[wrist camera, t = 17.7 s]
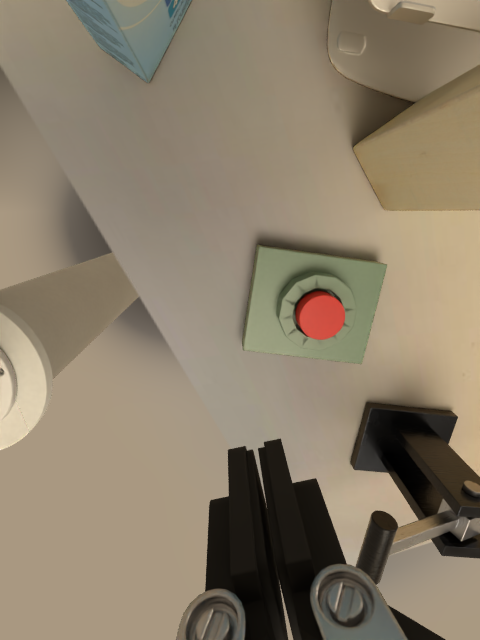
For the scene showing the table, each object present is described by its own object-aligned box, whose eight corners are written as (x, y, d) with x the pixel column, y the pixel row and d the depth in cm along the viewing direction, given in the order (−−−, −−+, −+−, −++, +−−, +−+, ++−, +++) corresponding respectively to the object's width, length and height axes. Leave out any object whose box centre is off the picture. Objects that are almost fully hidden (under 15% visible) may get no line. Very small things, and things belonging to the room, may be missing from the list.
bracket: (350, 462, 41) (403, 567, 29) (366, 401, 39) (432, 487, 27) (431, 470, 42) (516, 575, 30) (451, 411, 40) (553, 498, 27)
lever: (347, 562, 27) (370, 593, 25) (363, 510, 26) (388, 537, 23) (450, 523, 32) (476, 545, 30) (468, 478, 31) (496, 498, 29)
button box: (241, 342, 36) (244, 357, 32) (256, 244, 34) (261, 248, 30) (354, 355, 37) (369, 371, 33) (377, 261, 35) (396, 267, 31)
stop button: (291, 330, 32) (295, 337, 31) (299, 288, 31) (304, 292, 30) (333, 335, 33) (339, 342, 31) (343, 293, 32) (350, 298, 30)
